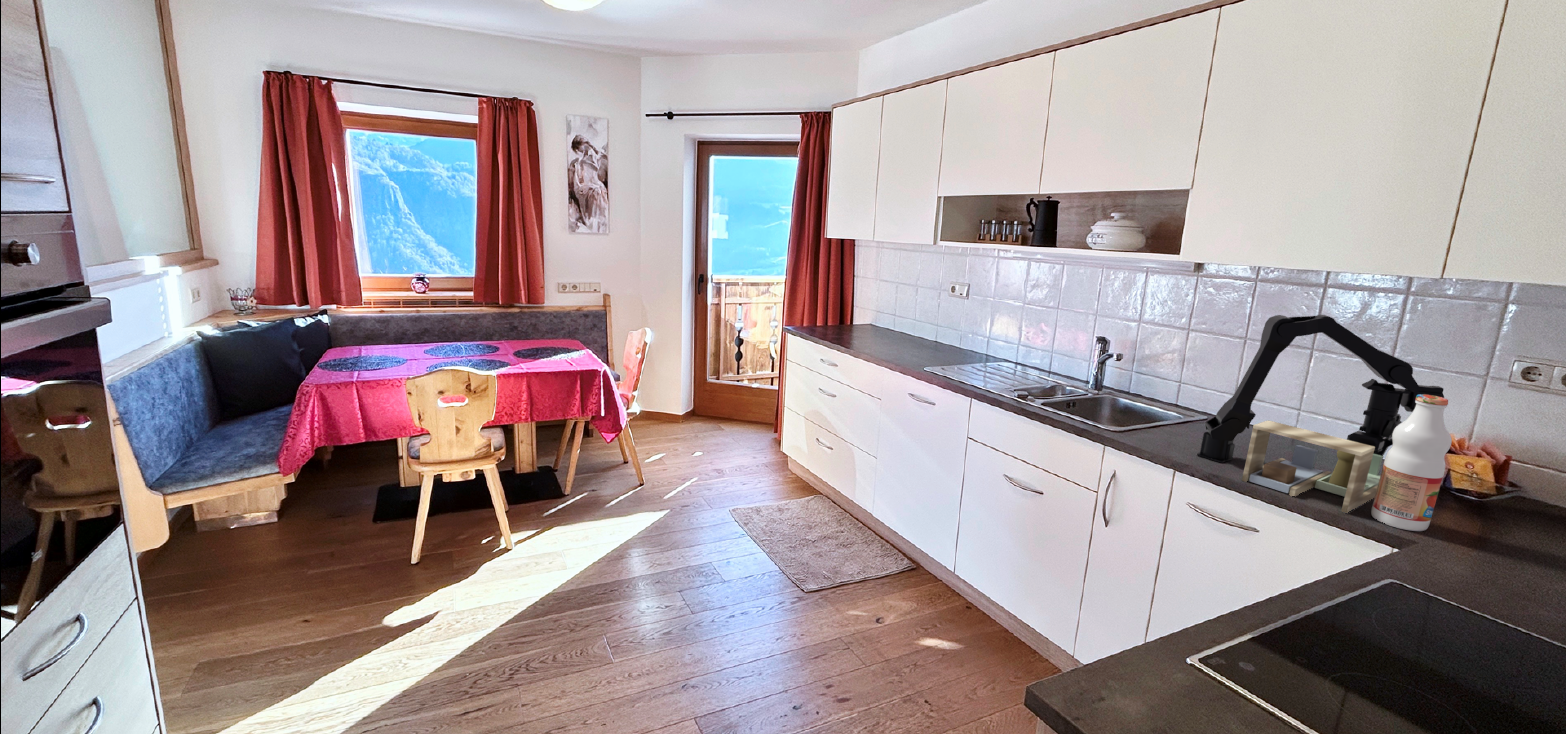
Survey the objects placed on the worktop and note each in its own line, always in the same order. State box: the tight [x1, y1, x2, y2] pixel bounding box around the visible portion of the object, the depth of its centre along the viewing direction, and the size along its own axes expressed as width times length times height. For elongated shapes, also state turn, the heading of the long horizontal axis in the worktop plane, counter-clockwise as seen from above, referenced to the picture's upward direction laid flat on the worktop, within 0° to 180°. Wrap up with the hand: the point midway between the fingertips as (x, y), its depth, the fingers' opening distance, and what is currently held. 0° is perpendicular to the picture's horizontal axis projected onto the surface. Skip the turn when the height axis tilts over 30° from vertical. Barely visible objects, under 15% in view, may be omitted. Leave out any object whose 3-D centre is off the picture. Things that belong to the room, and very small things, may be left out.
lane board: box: [1241, 420, 1378, 514], centre depth 163 cm, size 21×22×14 cm
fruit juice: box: [1371, 394, 1453, 532], centre depth 144 cm, size 9×9×28 cm
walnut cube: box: [1262, 460, 1297, 485], centre depth 165 cm, size 5×5×5 cm
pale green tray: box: [1314, 454, 1384, 498], centre depth 165 cm, size 8×20×7 cm, turn 124°
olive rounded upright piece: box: [1328, 450, 1355, 488], centre depth 161 cm, size 6×6×11 cm
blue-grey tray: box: [1248, 444, 1324, 494], centre depth 167 cm, size 8×20×7 cm, turn 124°
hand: (1367, 468), depth 170 cm, fingers open, 9 cm apart
